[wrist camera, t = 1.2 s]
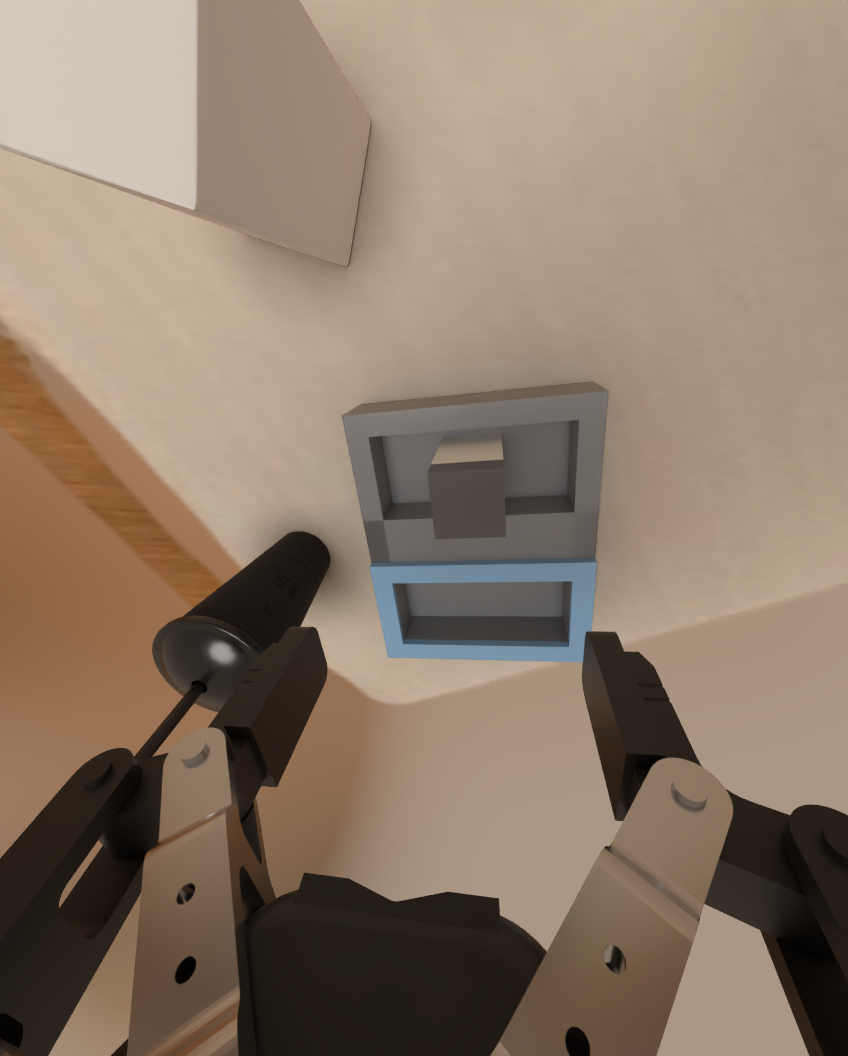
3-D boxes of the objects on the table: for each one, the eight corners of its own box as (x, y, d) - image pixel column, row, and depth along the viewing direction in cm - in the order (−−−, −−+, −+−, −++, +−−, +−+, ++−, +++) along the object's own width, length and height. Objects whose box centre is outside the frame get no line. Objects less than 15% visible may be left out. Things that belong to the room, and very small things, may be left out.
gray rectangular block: (501, 430, 28) (504, 468, 21) (502, 485, 29) (506, 537, 22) (443, 435, 28) (427, 473, 21) (448, 488, 30) (435, 539, 23)
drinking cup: (324, 603, 38) (182, 841, 21) (252, 562, 38) (40, 774, 20) (360, 548, 35) (226, 777, 17) (282, 500, 34) (57, 692, 16)
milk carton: (372, 120, 22) (6, -496, 5) (349, 268, 26) (77, 166, 9) (250, 80, 22) (-492, -657, 5) (242, 233, 26) (-230, 67, 9)
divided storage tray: (593, 381, 26) (611, 392, 22) (577, 623, 35) (588, 662, 31) (359, 404, 29) (338, 417, 25) (399, 621, 38) (388, 657, 34)
